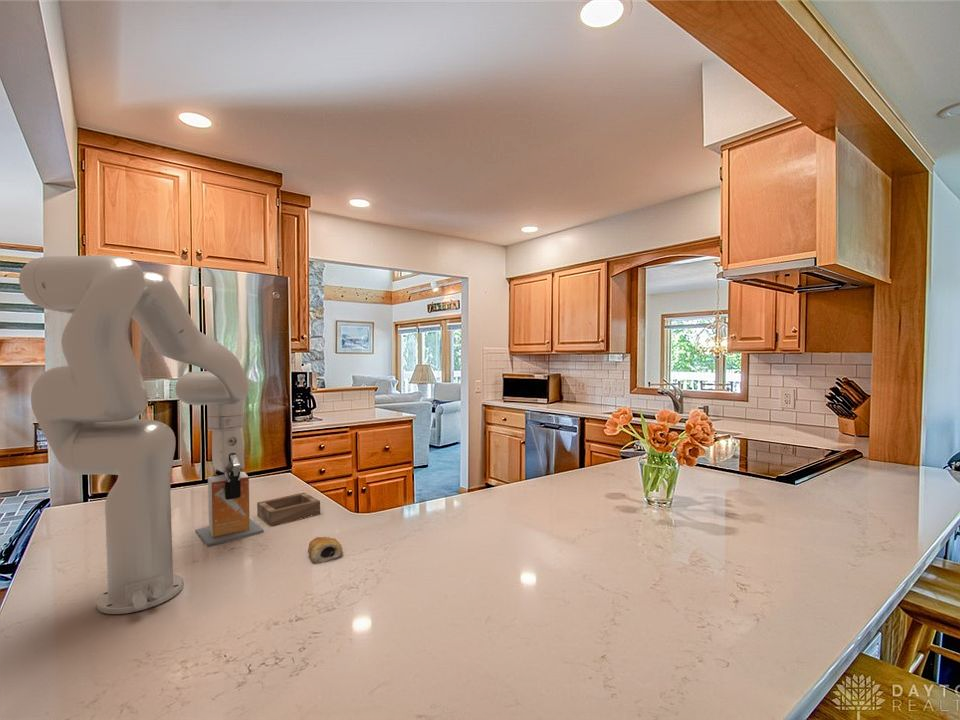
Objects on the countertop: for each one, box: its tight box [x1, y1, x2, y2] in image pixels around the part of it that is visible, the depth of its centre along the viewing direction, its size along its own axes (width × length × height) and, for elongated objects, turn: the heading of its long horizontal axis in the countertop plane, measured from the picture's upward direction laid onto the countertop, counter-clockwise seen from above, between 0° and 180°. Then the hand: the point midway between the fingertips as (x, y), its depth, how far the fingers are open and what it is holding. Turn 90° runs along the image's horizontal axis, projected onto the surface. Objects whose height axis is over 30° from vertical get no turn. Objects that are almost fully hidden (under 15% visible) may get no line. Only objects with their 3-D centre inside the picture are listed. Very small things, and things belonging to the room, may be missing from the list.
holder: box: [256, 492, 321, 527], centre depth 127 cm, size 11×13×4 cm
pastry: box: [307, 536, 344, 564], centre depth 103 cm, size 9×7×4 cm
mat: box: [194, 518, 264, 547], centre depth 115 cm, size 12×12×1 cm
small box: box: [207, 471, 251, 537], centre depth 115 cm, size 8×6×13 cm
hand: (227, 494), depth 115 cm, fingers open, 9 cm apart
